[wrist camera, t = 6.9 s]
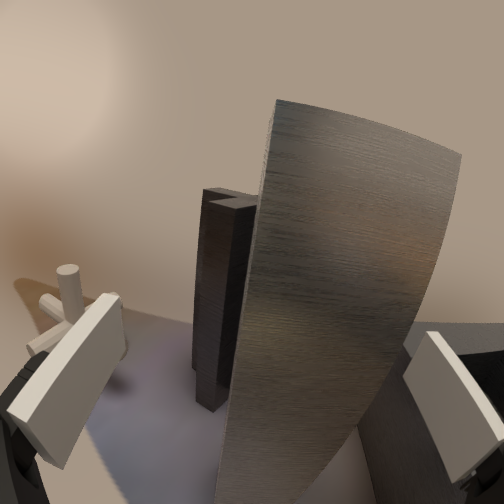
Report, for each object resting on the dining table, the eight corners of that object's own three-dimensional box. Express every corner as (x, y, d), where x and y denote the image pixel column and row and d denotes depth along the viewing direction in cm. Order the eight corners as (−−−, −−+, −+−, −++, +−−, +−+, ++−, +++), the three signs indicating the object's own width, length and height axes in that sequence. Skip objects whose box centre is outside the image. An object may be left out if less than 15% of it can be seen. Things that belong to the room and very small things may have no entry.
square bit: (276, 471, 15) (387, 148, 8) (277, 519, 11) (461, 154, 4) (218, 467, 15) (269, 121, 8) (212, 515, 11) (276, 99, 4)
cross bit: (287, 377, 25) (332, 208, 19) (244, 430, 19) (287, 222, 13) (222, 345, 28) (241, 186, 23) (170, 383, 22) (171, 192, 16)
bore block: (465, 387, 23) (503, 323, 20) (520, 486, 8) (584, 419, 5) (349, 399, 22) (387, 320, 19) (387, 554, 7) (484, 505, 4)
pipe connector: (89, 324, 27) (78, 237, 23) (161, 363, 24) (158, 265, 21) (22, 369, 18) (-10, 272, 14) (92, 432, 15) (52, 327, 12)
